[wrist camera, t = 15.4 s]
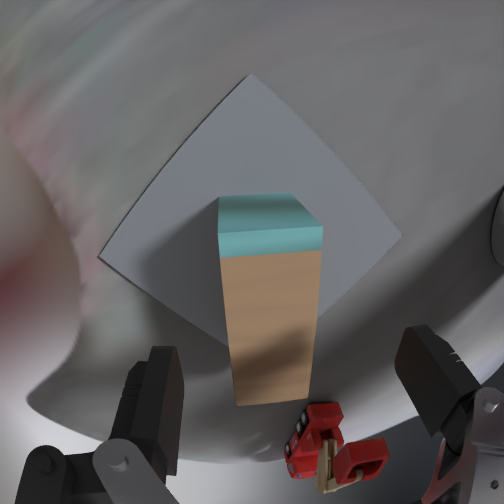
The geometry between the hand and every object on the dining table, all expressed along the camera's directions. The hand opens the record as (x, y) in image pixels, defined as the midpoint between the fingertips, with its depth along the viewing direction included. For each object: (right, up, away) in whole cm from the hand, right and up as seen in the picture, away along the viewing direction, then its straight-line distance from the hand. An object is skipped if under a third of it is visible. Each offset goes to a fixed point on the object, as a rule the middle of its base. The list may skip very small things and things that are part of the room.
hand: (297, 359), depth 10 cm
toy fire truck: (+5, -13, +17) cm, 22 cm away
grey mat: (-1, +4, +9) cm, 10 cm away
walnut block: (-1, -4, +8) cm, 9 cm away
